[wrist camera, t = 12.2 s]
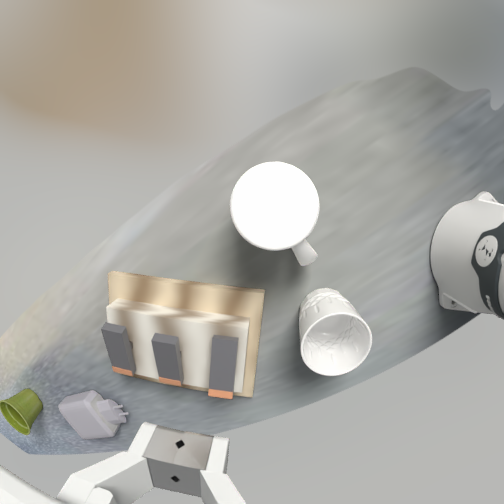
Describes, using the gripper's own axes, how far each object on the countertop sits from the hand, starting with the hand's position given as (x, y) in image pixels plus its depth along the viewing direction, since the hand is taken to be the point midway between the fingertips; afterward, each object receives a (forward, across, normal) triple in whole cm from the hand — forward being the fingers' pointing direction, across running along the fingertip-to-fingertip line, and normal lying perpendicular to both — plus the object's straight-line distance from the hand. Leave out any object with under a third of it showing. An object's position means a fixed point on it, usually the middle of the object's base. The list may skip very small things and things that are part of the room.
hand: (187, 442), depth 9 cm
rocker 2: (+25, +9, +13) cm, 29 cm away
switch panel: (+31, +9, +13) cm, 35 cm away
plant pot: (+31, +47, +39) cm, 69 cm away
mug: (+31, -4, -5) cm, 32 cm away
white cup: (+31, -11, +7) cm, 34 cm away
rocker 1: (+25, +16, +13) cm, 32 cm away
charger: (+32, +25, +33) cm, 52 cm away
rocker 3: (+25, +2, +13) cm, 28 cm away
